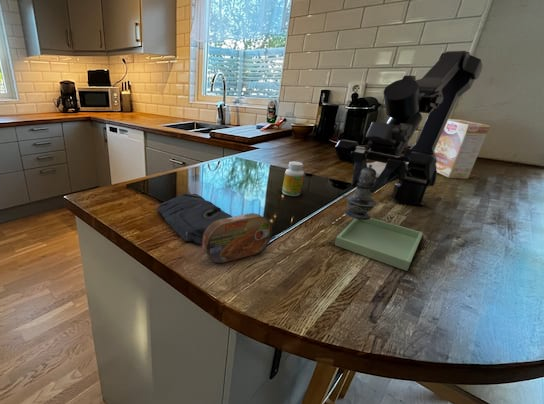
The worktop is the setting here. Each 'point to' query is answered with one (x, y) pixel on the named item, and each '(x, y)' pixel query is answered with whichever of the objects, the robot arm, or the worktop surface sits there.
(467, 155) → the coffeecake box
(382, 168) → the washcloth
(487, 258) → the worktop surface
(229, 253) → the tin
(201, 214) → the navy blue pouch
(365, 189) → the grey tall rounded piece
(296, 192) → the supplement bottle
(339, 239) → the sage tray
